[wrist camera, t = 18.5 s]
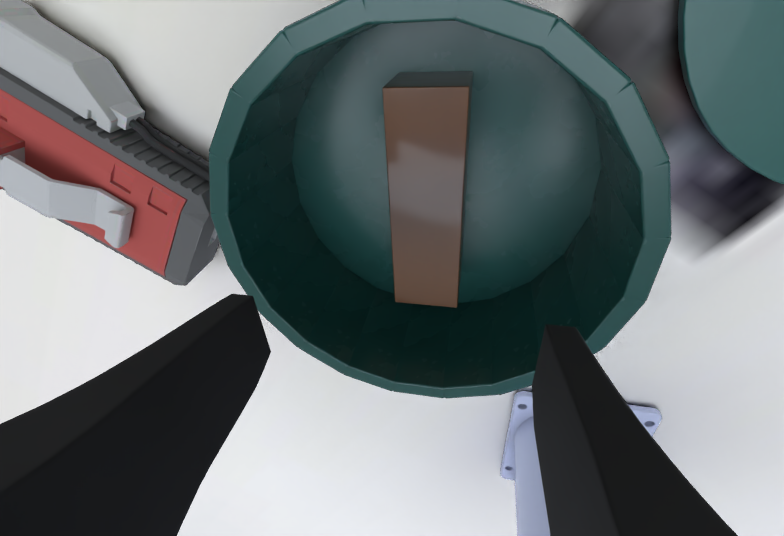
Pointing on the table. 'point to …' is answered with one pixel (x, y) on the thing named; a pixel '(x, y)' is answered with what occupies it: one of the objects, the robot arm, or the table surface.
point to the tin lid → (737, 76)
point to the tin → (483, 192)
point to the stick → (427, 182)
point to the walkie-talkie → (96, 152)
